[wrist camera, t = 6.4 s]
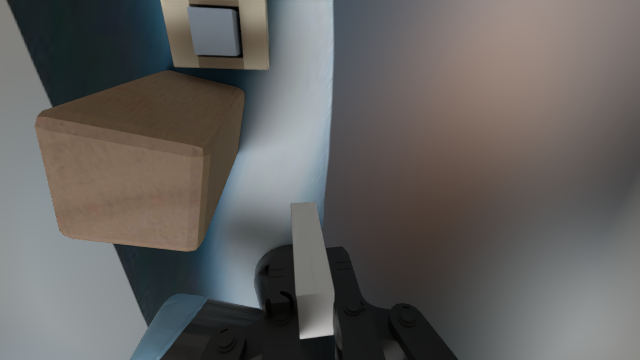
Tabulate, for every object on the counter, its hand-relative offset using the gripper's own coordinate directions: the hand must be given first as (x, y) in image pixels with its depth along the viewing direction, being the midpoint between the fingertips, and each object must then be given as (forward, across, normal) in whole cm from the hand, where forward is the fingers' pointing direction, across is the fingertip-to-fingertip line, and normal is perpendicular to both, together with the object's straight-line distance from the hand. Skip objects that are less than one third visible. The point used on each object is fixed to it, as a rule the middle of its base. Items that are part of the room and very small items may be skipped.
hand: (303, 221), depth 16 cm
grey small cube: (+21, +7, -11) cm, 25 cm away
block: (+24, +12, -1) cm, 27 cm away
